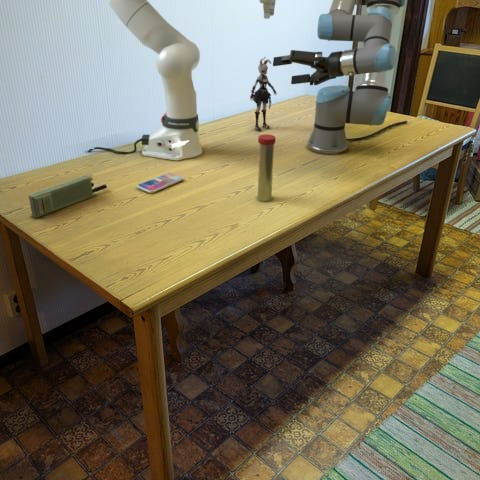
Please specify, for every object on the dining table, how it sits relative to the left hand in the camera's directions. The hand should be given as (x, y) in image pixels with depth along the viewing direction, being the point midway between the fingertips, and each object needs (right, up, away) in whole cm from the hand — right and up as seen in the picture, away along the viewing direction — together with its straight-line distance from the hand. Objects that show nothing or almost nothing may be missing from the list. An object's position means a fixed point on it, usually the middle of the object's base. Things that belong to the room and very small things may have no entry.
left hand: (268, 16), depth 163 cm
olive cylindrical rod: (-2, -59, -7) cm, 59 cm away
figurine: (0, -24, +55) cm, 60 cm away
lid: (-1, -42, -16) cm, 45 cm away
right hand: (+5, -16, +6) cm, 17 cm away
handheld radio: (-59, -61, -12) cm, 86 cm away
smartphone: (-35, -54, +2) cm, 64 cm away
